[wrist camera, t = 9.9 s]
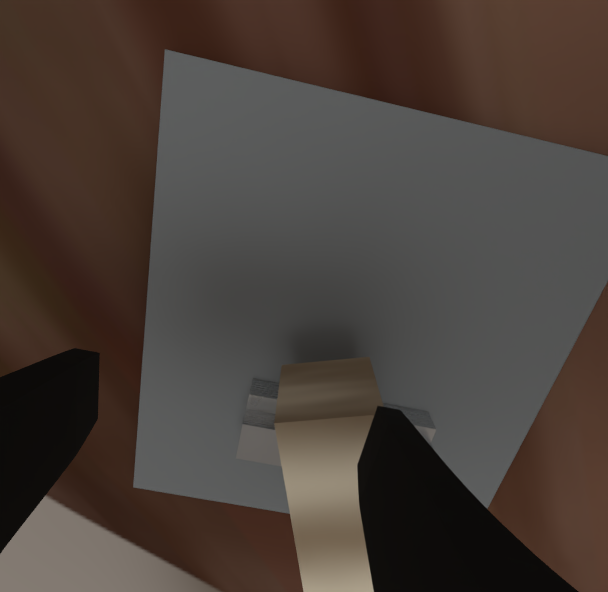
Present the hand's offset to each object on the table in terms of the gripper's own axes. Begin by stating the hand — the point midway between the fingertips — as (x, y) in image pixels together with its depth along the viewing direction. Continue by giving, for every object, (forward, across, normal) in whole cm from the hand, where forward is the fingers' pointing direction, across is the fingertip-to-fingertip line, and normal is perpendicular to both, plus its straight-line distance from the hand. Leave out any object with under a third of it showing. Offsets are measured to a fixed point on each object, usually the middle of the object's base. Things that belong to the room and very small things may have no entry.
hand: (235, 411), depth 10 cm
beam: (+7, -5, +8) cm, 12 cm away
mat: (+10, -5, +3) cm, 12 cm away
